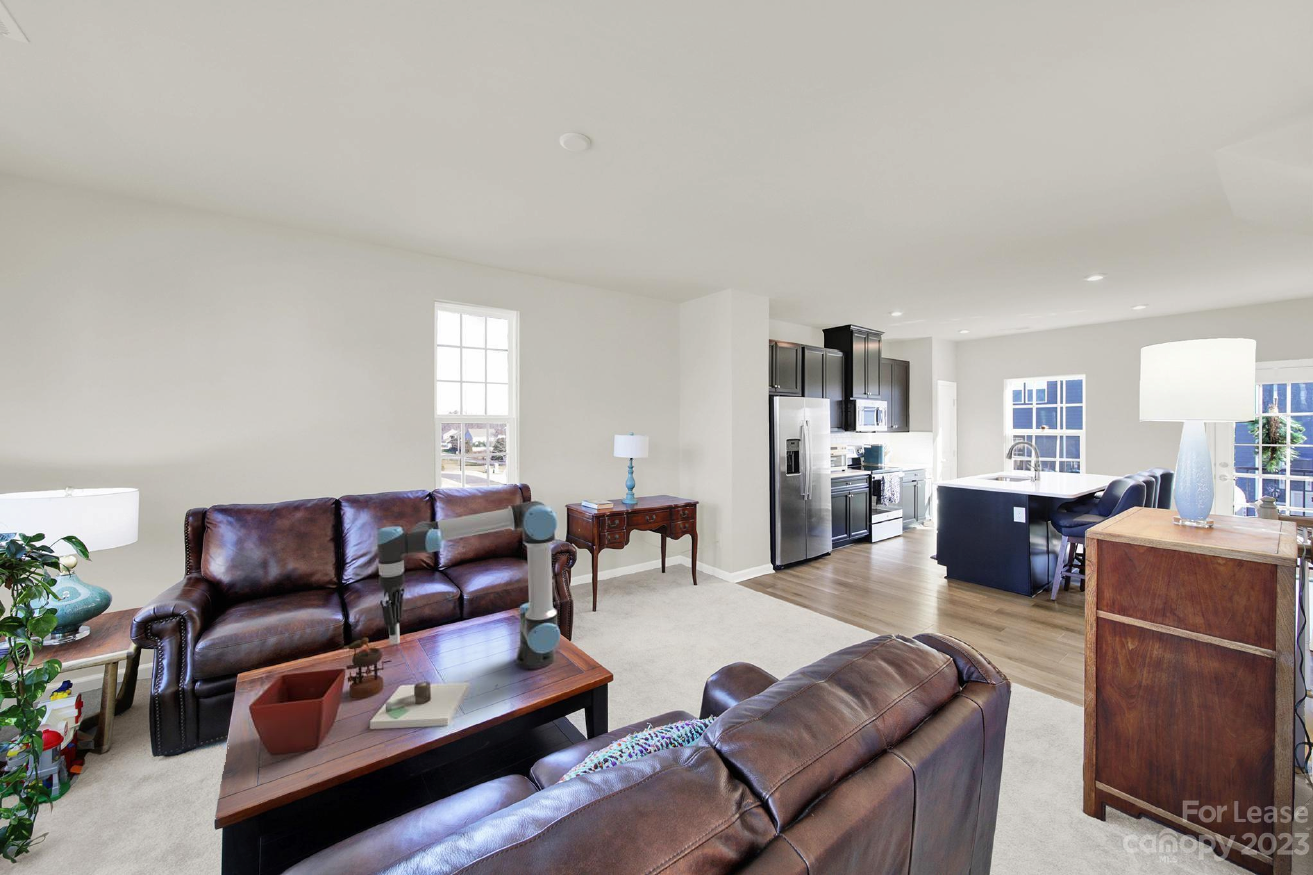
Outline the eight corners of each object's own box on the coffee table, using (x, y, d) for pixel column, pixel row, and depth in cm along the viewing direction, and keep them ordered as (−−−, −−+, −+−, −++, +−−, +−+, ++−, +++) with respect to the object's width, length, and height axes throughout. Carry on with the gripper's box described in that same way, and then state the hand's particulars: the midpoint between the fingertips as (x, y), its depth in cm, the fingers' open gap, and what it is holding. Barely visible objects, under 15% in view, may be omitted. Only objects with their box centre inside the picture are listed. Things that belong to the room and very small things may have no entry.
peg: (429, 694, 178) (428, 678, 178) (432, 700, 174) (431, 685, 174) (385, 707, 170) (384, 691, 170) (387, 714, 166) (386, 698, 166)
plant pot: (324, 755, 151) (322, 698, 150) (249, 765, 147) (246, 707, 146) (349, 717, 170) (346, 667, 169) (283, 726, 166) (280, 674, 165)
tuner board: (469, 688, 186) (469, 681, 186) (447, 725, 164) (447, 717, 164) (400, 691, 185) (400, 684, 185) (370, 729, 163) (369, 720, 163)
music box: (346, 704, 177) (343, 645, 178) (343, 693, 186) (340, 637, 187) (395, 690, 186) (392, 634, 187) (390, 680, 195) (387, 626, 196)
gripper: (389, 568, 180) (392, 635, 181) (370, 580, 167) (373, 652, 168) (411, 567, 180) (414, 634, 181) (394, 579, 167) (397, 651, 168)
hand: (394, 643), depth 174 cm, fingers closed
